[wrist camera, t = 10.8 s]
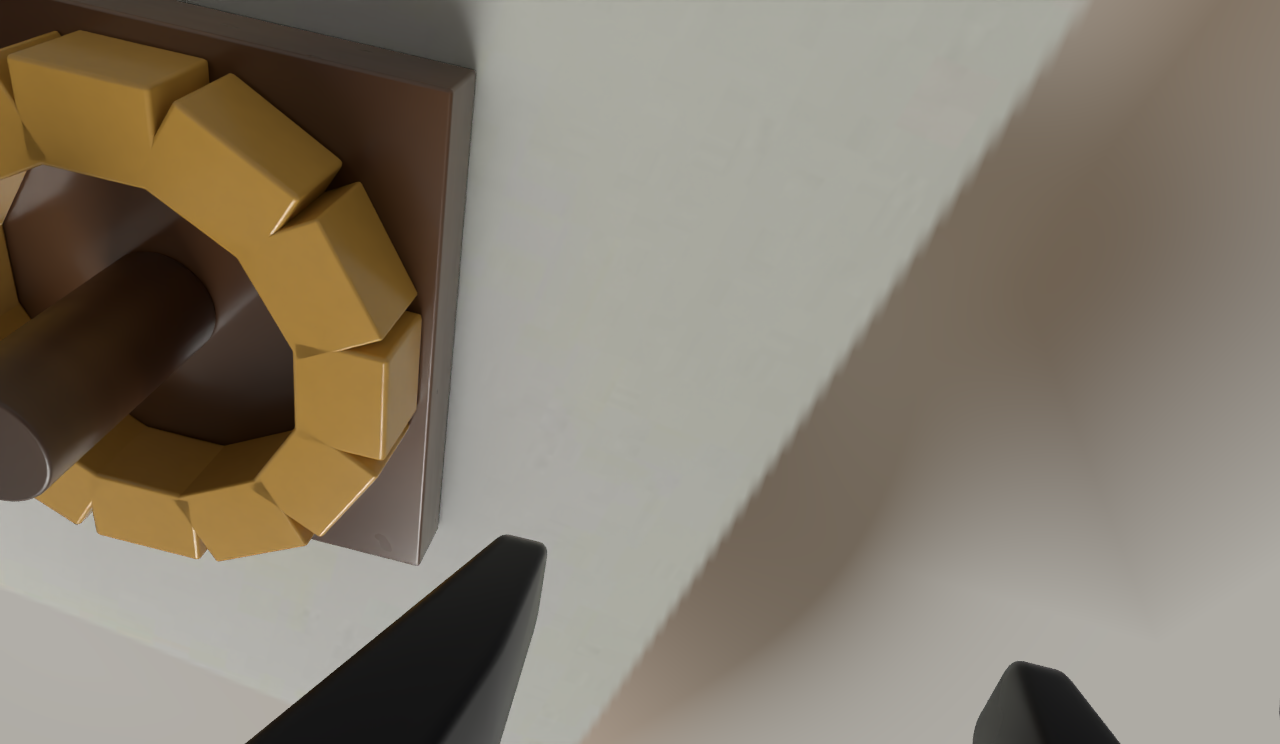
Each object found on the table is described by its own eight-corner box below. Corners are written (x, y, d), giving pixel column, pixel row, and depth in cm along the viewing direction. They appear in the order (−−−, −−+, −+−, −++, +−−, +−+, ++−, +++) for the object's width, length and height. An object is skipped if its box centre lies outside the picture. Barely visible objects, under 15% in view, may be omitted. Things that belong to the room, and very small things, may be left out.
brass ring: (435, 111, 14) (395, 146, 13) (409, 550, 19) (379, 607, 18) (-140, -24, 15) (-238, -3, 13) (-18, 442, 20) (-80, 490, 18)
